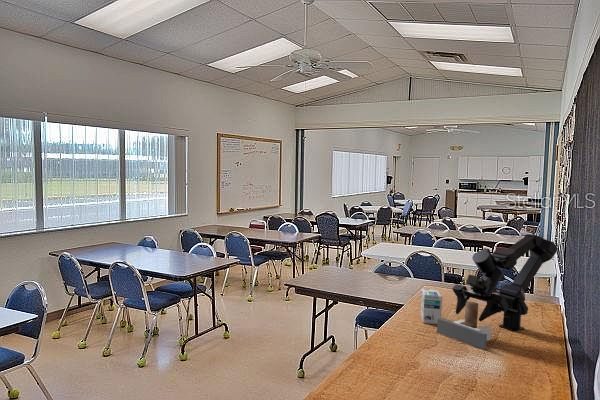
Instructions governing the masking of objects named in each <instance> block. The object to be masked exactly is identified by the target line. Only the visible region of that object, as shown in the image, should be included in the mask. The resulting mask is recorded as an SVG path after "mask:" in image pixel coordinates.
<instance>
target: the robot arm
mask: <svg viewBox="0 0 600 400" xmlns="http://www.w3.org/2000/svg"><path fill="white" fill-rule="evenodd" d="M528 252H529V257H528V258H527V260H526V262H525V263H524V265H523V266H522V268H521V269H520V271H519V272H518V273H517V275H516V277H515V278H514V280H513V282H512V283H511V284H508V283H504V284H503V285H502V288H501V289H499V291H498V293H497V294H496V292H497V286H498V284H499V283H500V281H505V280H506V276H505V273H504V272H503V271H502V270H504V271H511V270H512V269H513V268H514V267H515V266H517V262H518V259H520V258H521V257H522V256H524V255H525V254H527V253H528ZM557 252H558V247H557V245H556V243H555V242H554V241H550V240H547V239H546V238H543V237H541V236H539V235H537V234H530V233H527V234H524V236H523V237H522V238H521V239H519V240H518V241H516V242H515V243H514V244H511V246H509V247H508V248H503V249H499V250H496V251H494V252H491V250H490V248H485V247H484V248H483V249H482V250H481V249H480V250H479V251H476V252H475V253H474V254H473V255H472V258H471V259H472V261H473V262H474V264H475V266H476V267H477V268H478V271H480V272H481V273H482V275H481V276H477V275H473V274H468V275H467V277H466V278H467V279H466V280H465V281H466V282H465V284H466V285H468V286H470V287H469V288H470V290H472V291H470V290H469V289H468V288H467V286H466V285H461V284H458V283H457V284H454V285H453V287H452V288H451V289H452V292H453V293H454V294H455V296H456V298H457V300H456V308H455V314H457V315H458V314H460V313H461V312H462V310H463V309H465V307H466V302H468V301H469V300H470V298H472V299H475V300H478V301H482V302H485V303H486V304H485V307H484V309H483V310H482V312H481V314H480V315H479V316H478V317H479V318H478V321H479V322H482V321H484V320H486V319H488V318H490V317H492V316H494V315H496V314H499V313H502V312H503V316H502V317H503V319H502V324H498V327H500V328H502V329H506V330H509V331H512V332H519V331H521V330H525V327H524V326H521V324H522V323H521V322H522V316H526V314H528V311H529V307H528V306H527V303H525V301H526V290H527V289H528V287H529V286H530V285H531V283H532V281H533V279H534V278H535V276H536V275H537V273H538V272H539V270H540V268H541V267H542V265H543V264H545V263H547V262H549V261H550V260H552V258H553V257H554V256H555V255H556V253H557Z"/></svg>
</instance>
